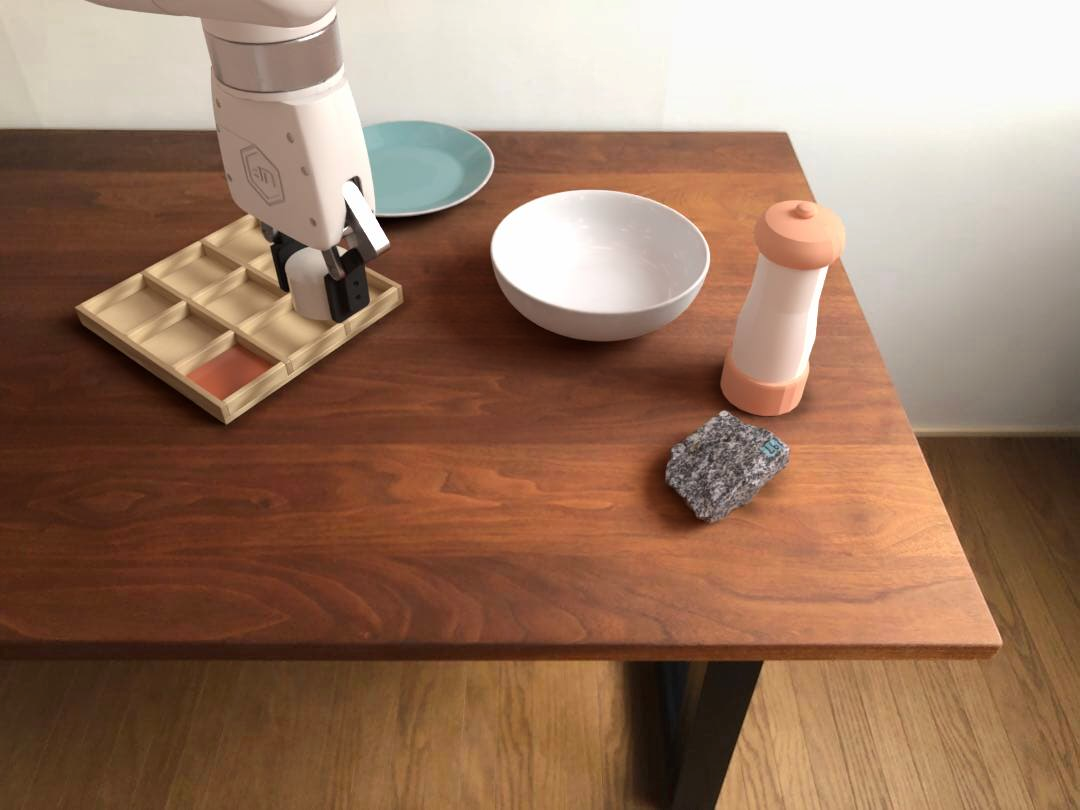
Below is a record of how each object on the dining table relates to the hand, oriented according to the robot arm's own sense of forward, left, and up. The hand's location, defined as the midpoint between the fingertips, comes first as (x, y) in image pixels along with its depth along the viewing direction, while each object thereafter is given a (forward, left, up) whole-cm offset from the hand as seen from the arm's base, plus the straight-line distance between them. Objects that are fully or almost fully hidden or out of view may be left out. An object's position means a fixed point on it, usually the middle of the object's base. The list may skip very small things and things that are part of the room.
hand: (324, 295), depth 65 cm
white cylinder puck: (0, 0, 0) cm, 0 cm away
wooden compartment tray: (+5, +21, -15) cm, 27 cm away
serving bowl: (+28, -5, -16) cm, 33 cm away
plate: (+32, +26, -16) cm, 44 cm away
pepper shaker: (+27, -24, -16) cm, 40 cm away
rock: (+15, -27, -16) cm, 35 cm away
